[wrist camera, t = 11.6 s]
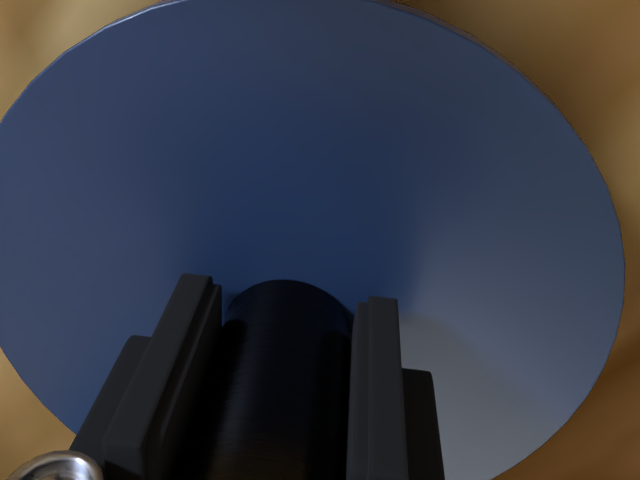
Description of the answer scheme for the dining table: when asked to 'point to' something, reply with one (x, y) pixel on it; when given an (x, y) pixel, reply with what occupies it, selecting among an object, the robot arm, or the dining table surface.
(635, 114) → the dining table surface
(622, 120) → the dining table surface
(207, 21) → the tin lid
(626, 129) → the dining table surface
